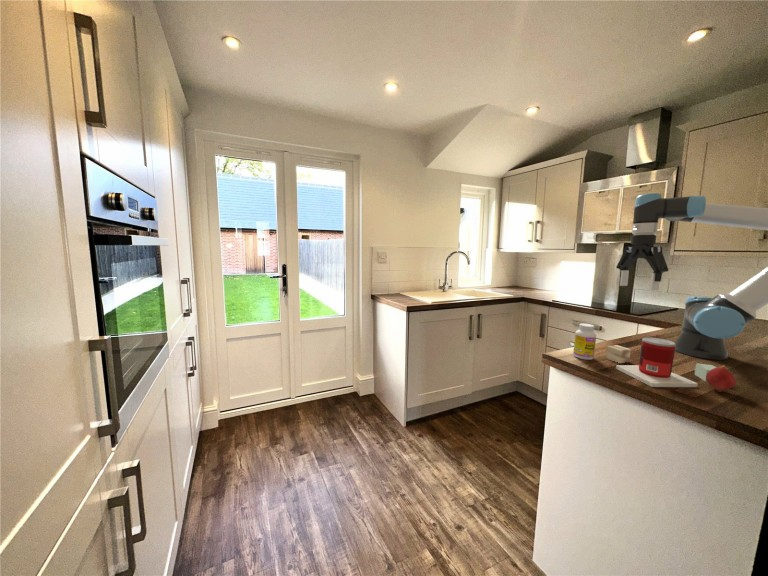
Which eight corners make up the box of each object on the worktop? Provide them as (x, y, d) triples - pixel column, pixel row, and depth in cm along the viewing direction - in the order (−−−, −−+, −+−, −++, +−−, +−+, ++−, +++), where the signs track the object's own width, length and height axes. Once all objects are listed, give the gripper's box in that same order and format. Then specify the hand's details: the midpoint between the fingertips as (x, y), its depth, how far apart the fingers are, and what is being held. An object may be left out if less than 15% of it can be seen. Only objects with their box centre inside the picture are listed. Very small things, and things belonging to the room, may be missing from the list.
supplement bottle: (583, 360, 111) (586, 327, 109) (569, 354, 118) (572, 323, 116) (598, 359, 113) (601, 326, 111) (583, 353, 119) (586, 322, 117)
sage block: (710, 376, 99) (712, 365, 98) (722, 384, 93) (724, 372, 93) (694, 374, 100) (696, 363, 100) (705, 381, 95) (707, 369, 94)
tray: (655, 368, 104) (655, 365, 104) (697, 387, 91) (697, 382, 90) (615, 368, 104) (616, 364, 104) (651, 386, 90) (652, 382, 90)
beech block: (615, 357, 115) (617, 345, 115) (629, 362, 111) (630, 349, 110) (605, 358, 114) (607, 346, 113) (619, 363, 109) (620, 350, 109)
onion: (698, 386, 91) (702, 361, 90) (715, 386, 91) (719, 361, 90) (721, 396, 85) (726, 369, 84) (739, 395, 86) (744, 369, 84)
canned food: (677, 379, 93) (682, 345, 91) (647, 376, 94) (652, 343, 93) (660, 369, 100) (664, 338, 99) (633, 367, 102) (636, 336, 100)
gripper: (609, 236, 129) (604, 284, 132) (666, 232, 105) (659, 292, 107) (625, 236, 130) (620, 284, 133) (686, 232, 105) (678, 291, 108)
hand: (638, 287), depth 120 cm, fingers open, 13 cm apart
